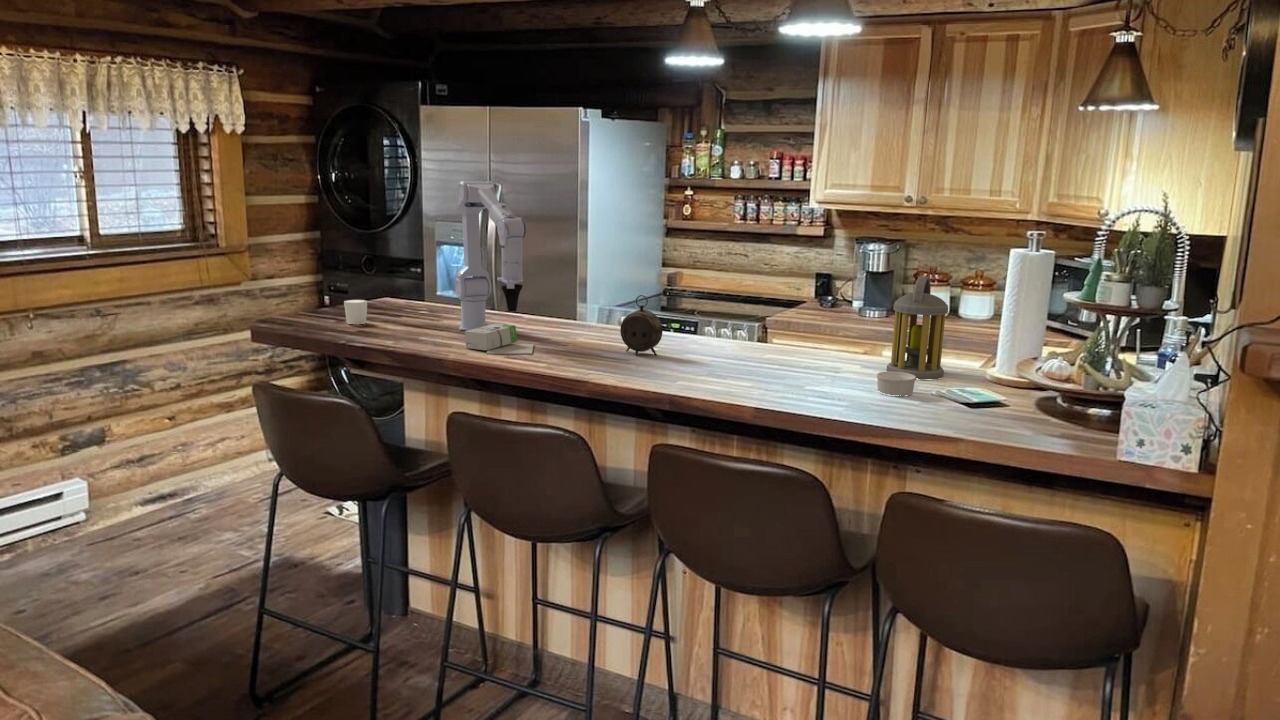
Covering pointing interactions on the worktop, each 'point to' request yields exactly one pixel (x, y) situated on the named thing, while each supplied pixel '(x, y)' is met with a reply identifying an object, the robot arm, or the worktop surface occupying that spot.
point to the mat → (512, 349)
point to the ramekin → (896, 383)
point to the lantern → (919, 333)
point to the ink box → (490, 336)
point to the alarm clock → (641, 330)
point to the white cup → (356, 311)
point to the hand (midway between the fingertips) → (512, 311)
